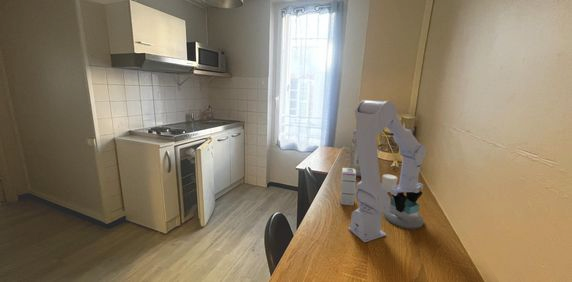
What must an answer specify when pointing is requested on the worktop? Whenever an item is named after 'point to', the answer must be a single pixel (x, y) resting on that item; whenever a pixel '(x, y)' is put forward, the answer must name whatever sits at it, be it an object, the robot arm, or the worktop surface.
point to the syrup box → (348, 186)
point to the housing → (406, 210)
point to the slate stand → (403, 221)
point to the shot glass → (389, 181)
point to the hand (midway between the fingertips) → (404, 209)
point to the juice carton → (354, 155)
